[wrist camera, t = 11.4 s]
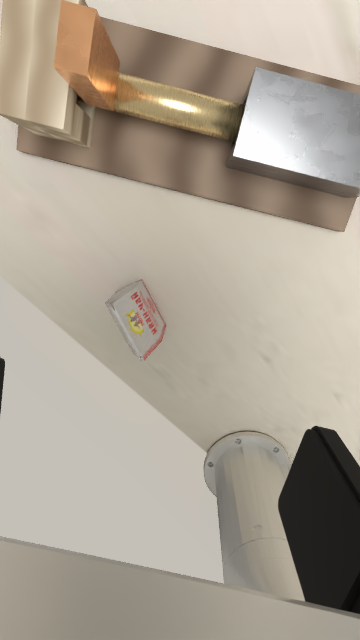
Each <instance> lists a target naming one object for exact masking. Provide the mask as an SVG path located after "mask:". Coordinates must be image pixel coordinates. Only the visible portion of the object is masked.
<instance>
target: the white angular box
mask: <svg viewBox="0 0 360 640" xmlns="http://www.w3.org/2000/svg"><path fill="white" fill-rule="evenodd" d="M105 304H106V305H107V307H108V309H109V311H110V313H111V314H112V316H113V318H114V320H115V321H116V323H117V325H118V327H119V329H120V330H121V332H122V334H123V336H124V338H125V339H126V341H127V343H128V345H129V346H130V348H131V350H132V352H133V354H135V355H136V356H138V357H139V358H140V360H141V357H142V358H143V359H144V361H145V359H146V358H147V356H148V355H149V354H150V353H151V352H152V351H153V350H154V349H155V348H156V347H157V345H158V344H159V343H160V342H161V341H162V338H163V334H164V330H165V327H166V325H165V323H164V321H163V319H162V317H161V315H160V313H159V311H158V310H157V308H156V306H155V304H154V302H153V300H152V298H151V296H150V294H149V292H148V290H147V288H146V286H145V285H144V283H143V281H142V280H139V281H137V282H135V283H133V284H131V285H129V286H127V287H125V288H123V289H121V290H119V291H117V292H116V293H115V294H114V295H112V296H111V297H110V298H109V299H108V300H107V301H106V302H105Z"/></svg>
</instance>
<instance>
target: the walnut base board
mask: <svg viewBox="0 0 360 640" xmlns="http://www.w3.org/2000/svg"><path fill="white" fill-rule="evenodd" d="M100 19H101V21H102V23H103V25H104V27H105V30H106V32H107V34H108V36H109V38H110V41H111V43H112V45H113V47H114V49H115V52H116V54H117V56H118V58H119V60H120V68H119V72H120V73H124V74H128V75H132V76H136V77H140V78H143V79H147V80H151V81H155V82H159V83H163V84H166V85H170V86H174V87H178V88H182V89H186V90H189V91H193V92H197V93H201V94H205V95H209V96H212V97H216V98H220V99H224V100H228V101H232V102H235V103H239V104H242V101H243V97H244V94H245V92H246V89H247V87H248V85H249V82H250V80H251V77H252V75H253V73H254V70H255V68H256V67H258V68H262V69H265V70H269V71H273V72H277V73H280V74H284V75H288V76H292V77H295V78H299V79H303V80H307V81H311V82H314V83H318V84H322V85H326V86H329V87H333V88H337V89H341V90H345V91H348V92H352V93H356V94H360V86H359V85H355V84H351V83H348V82H344V81H340V80H336V79H333V78H329V77H325V76H321V75H318V74H314V73H310V72H306V71H303V70H299V69H295V68H291V67H287V66H284V65H280V64H276V63H272V62H269V61H265V60H261V59H257V58H254V57H250V56H246V55H242V54H239V53H235V52H231V51H227V50H223V49H220V48H216V47H212V46H208V45H205V44H201V43H197V42H193V41H190V40H186V39H182V38H178V37H175V36H171V35H167V34H163V33H159V32H156V31H152V30H148V29H144V28H141V27H137V26H133V25H129V24H126V23H122V22H118V21H114V20H111V19H107V18H103V17H100ZM231 144H232V141H229V140H225V139H221V138H217V137H213V136H209V135H205V134H201V133H197V132H193V131H190V130H186V129H182V128H178V127H174V126H170V125H166V124H162V123H158V122H155V121H151V120H147V119H143V118H139V117H135V116H131V115H127V114H123V113H119V112H116V111H110V110H106V109H102V108H98V107H96V110H95V117H94V124H93V131H92V138H91V145H90V148H87V147H83V146H79V145H76V144H72V143H68V142H64V141H60V140H56V139H52V138H48V137H44V136H40V135H36V134H34V133H32V132H31V131H29V130H27V129H25V128H23V127H21V126H20V125H19V127H18V138H17V150H19V151H21V152H24V153H28V154H32V155H36V156H40V157H44V158H48V159H52V160H56V161H60V162H64V163H68V164H72V165H76V166H80V167H84V168H88V169H92V170H96V171H100V172H104V173H108V174H112V175H116V176H120V177H124V178H128V179H132V180H136V181H140V182H144V183H148V184H152V185H156V186H160V187H164V188H168V189H172V190H176V191H180V192H184V193H188V194H192V195H196V196H200V197H204V198H207V199H211V200H215V201H219V202H223V203H227V204H231V205H235V206H239V207H243V208H247V209H251V210H255V211H259V212H263V213H267V214H271V215H275V216H279V217H283V218H287V219H291V220H295V221H299V222H303V223H307V224H311V225H315V226H319V227H323V228H327V229H331V230H335V231H340V232H344V231H345V228H346V225H347V223H348V220H349V217H350V214H351V212H352V209H353V206H354V204H355V201H356V198H357V197H351V198H345V197H341V196H337V195H333V194H329V193H325V192H321V191H317V190H313V189H309V188H305V187H301V186H297V185H294V184H290V183H286V182H282V181H278V180H274V179H270V178H266V177H262V176H258V175H254V174H250V173H246V172H242V171H238V170H235V169H231V168H227V167H226V164H227V160H228V156H229V152H230V148H231Z"/></svg>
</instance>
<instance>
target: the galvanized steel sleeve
mask: <svg viewBox="0 0 360 640" xmlns="http://www.w3.org/2000/svg"><path fill="white" fill-rule="evenodd" d="M242 104H243V105H245V107H244V111H243V115H242V119H241V123H240V127H239V131H238V135H237V138H236V142H232V144H231V148H230V152H229V156H228V160H227V164H226V167H227V168H231V169H235V170H238V171H242V172H246V173H250V174H254V175H258V176H262V177H266V178H270V179H274V180H278V181H282V182H286V183H290V184H294V185H297V186H301V187H305V188H309V189H313V190H317V191H321V192H325V193H329V194H333V195H337V196H341V197H345V198H351V197H359V196H360V94H356V93H352V92H348V91H345V90H341V89H337V88H333V87H329V86H326V85H322V84H318V83H314V82H311V81H307V80H303V79H299V78H295V77H292V76H288V75H284V74H280V73H277V72H273V71H269V70H265V69H262V68H258V67H256V68H255V70H254V73H253V75H252V77H251V80H250V82H249V85H248V87H247V89H246V92H245V94H244V97H243V101H242Z"/></svg>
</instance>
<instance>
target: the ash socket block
mask: <svg viewBox="0 0 360 640" xmlns="http://www.w3.org/2000/svg"><path fill="white" fill-rule="evenodd" d="M64 1H68V2H72V3H75V4H79V5H83V6H87V4H86V2H85V0H64ZM60 5H61V0H3V6H2V21H1V35H0V115H1V116H3V117H5V118H7V119H9V120H10V121H12V122H14V123H16V124H18V125H20V126H21V127H23V128H25V129H27V130H29V131H31V132H32V133H34V134H36V135H40V136H44V137H48V138H52V139H56V140H60V141H64V142H68V143H72V144H76V145H79V146H83V147H87V148H90V145H91V138H92V131H93V124H94V117H95V110H96V107H94V106H90V105H87V104H84V103H81V102H77V101H76V100H77V93H76V92H75V90H74V89H73V88H72V87H71V86H70V85H69V84H68V83H67V82H66V81H65V80H64V78H63V77H62V76H61V75H60V74H59V73H58V72H57V71H56V70H55V69H54V60H55V51H56V42H57V32H58V23H59V14H60ZM87 7H88V6H87Z"/></svg>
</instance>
